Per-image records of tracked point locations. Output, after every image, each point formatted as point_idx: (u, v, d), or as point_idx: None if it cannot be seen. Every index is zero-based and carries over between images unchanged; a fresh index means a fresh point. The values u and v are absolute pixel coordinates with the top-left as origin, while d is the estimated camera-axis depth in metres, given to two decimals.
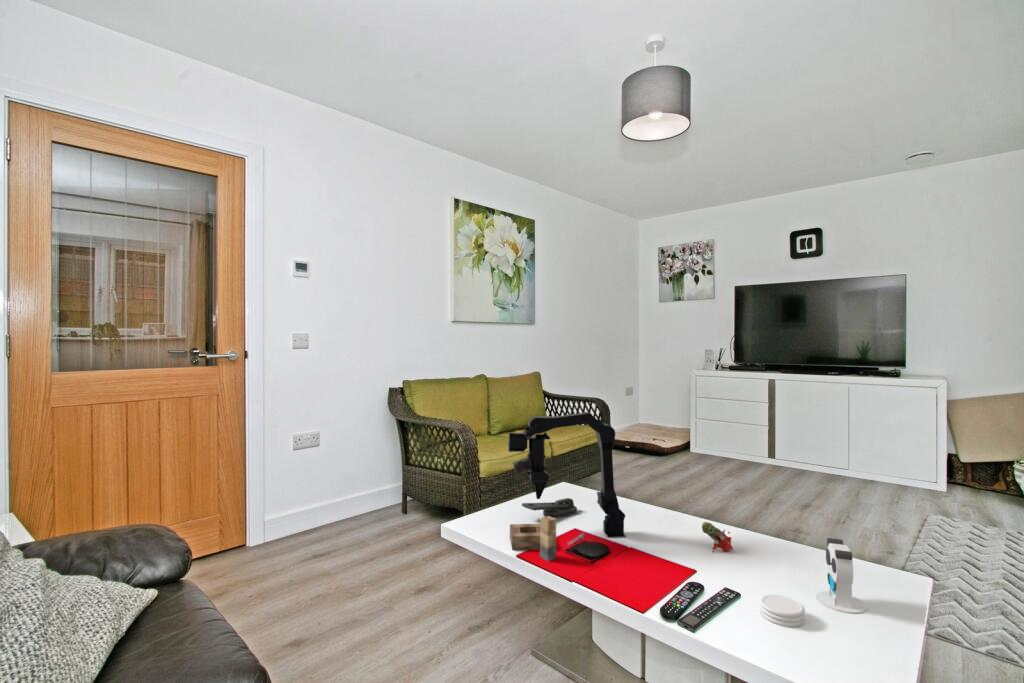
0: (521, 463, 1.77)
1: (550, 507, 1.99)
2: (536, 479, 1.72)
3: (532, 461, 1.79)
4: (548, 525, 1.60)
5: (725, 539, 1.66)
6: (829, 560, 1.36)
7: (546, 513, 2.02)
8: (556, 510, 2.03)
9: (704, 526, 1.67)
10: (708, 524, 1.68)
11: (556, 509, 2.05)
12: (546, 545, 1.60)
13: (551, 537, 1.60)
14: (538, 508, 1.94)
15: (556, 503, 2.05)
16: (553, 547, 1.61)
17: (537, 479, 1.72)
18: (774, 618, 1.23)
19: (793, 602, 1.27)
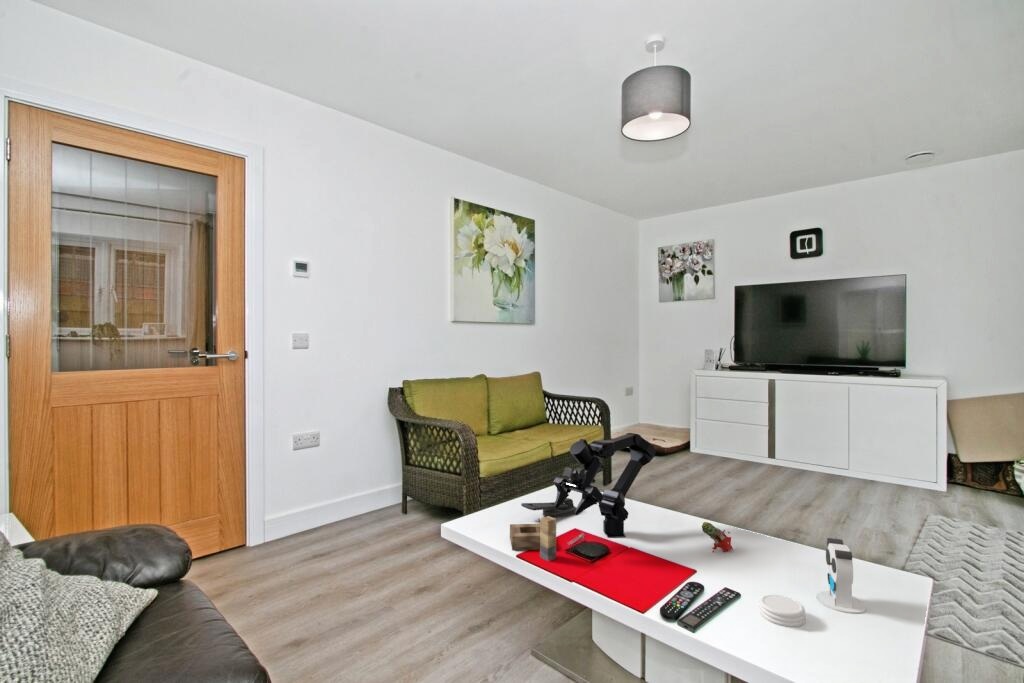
0: (583, 472, 1.67)
1: (549, 507, 1.99)
2: (596, 494, 1.63)
3: None
4: (548, 525, 1.60)
5: (725, 539, 1.66)
6: (829, 560, 1.36)
7: (545, 513, 2.01)
8: (556, 510, 2.03)
9: (704, 526, 1.67)
10: (708, 524, 1.68)
11: (556, 509, 2.05)
12: (546, 545, 1.60)
13: (551, 537, 1.60)
14: (537, 508, 1.94)
15: None
16: (553, 547, 1.61)
17: (596, 495, 1.63)
18: (774, 618, 1.23)
19: (793, 602, 1.27)
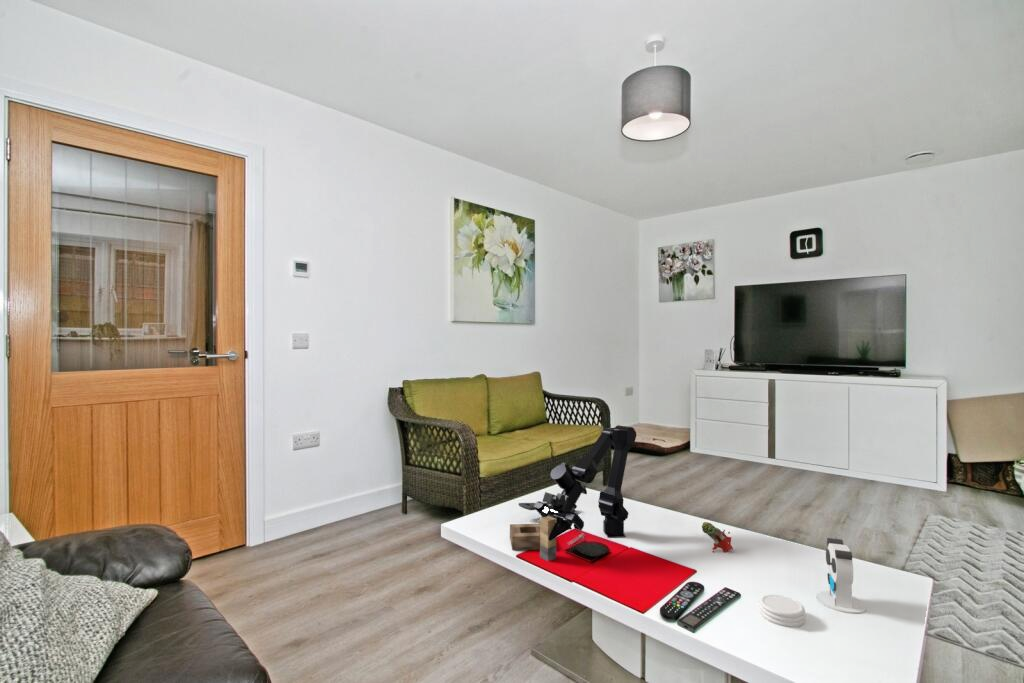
0: (564, 497, 1.61)
1: None
2: (576, 522, 1.57)
3: None
4: (548, 525, 1.60)
5: (725, 539, 1.66)
6: (829, 560, 1.36)
7: None
8: None
9: (704, 526, 1.67)
10: (708, 524, 1.68)
11: None
12: (546, 545, 1.60)
13: None
14: (534, 508, 1.94)
15: None
16: (553, 547, 1.61)
17: (577, 522, 1.57)
18: (774, 618, 1.23)
19: (793, 602, 1.27)
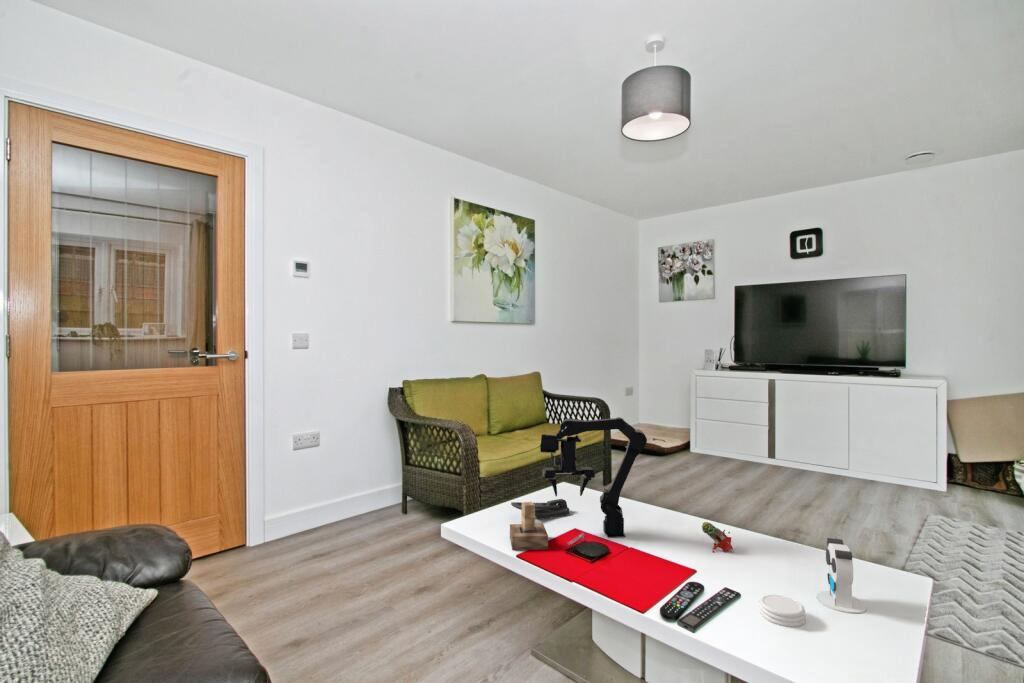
0: (554, 459, 1.92)
1: (539, 507, 1.99)
2: (542, 473, 1.87)
3: None
4: (525, 509, 1.72)
5: (725, 539, 1.66)
6: (829, 560, 1.36)
7: (536, 513, 2.02)
8: (547, 510, 2.03)
9: (704, 526, 1.67)
10: (708, 524, 1.68)
11: (547, 509, 2.04)
12: (524, 528, 1.73)
13: (528, 521, 1.73)
14: None
15: (547, 503, 2.04)
16: (531, 530, 1.73)
17: (543, 474, 1.86)
18: (774, 618, 1.23)
19: (793, 602, 1.27)
